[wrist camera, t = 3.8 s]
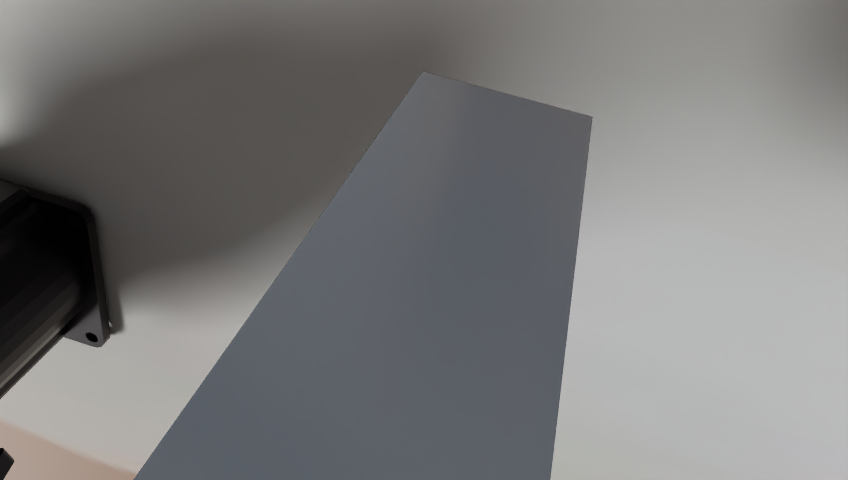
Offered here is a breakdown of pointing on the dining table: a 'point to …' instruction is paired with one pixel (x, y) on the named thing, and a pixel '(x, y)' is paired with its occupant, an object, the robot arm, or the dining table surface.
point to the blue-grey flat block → (410, 310)
